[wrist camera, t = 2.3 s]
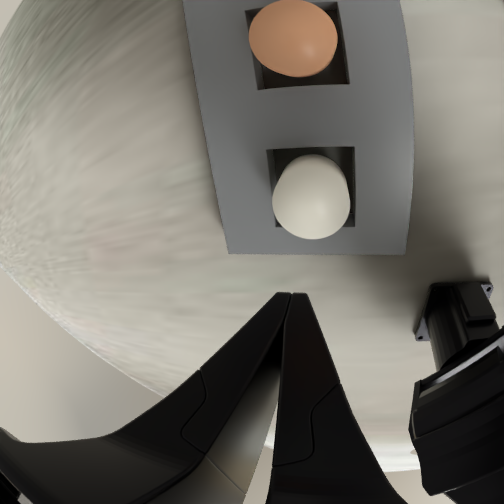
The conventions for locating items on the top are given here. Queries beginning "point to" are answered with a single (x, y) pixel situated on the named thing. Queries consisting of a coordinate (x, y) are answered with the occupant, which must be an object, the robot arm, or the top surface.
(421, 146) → the top surface
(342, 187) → the button white
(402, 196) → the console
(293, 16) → the button terracotta
